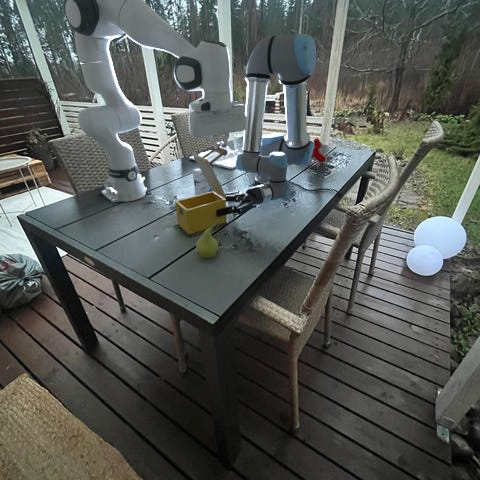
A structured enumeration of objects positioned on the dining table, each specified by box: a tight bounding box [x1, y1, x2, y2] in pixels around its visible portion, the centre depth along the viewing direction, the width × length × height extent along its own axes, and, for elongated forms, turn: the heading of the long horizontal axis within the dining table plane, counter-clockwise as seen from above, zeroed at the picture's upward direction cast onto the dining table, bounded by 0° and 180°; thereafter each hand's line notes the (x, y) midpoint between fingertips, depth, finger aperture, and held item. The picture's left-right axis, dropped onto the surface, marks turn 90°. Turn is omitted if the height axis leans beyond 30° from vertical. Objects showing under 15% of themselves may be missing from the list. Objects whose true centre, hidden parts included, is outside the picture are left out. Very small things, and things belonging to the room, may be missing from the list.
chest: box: [174, 191, 227, 238], centre depth 101 cm, size 16×9×11 cm, turn 126°
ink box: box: [192, 167, 214, 195], centre depth 128 cm, size 8×5×12 cm, turn 135°
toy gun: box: [311, 136, 327, 165], centre depth 168 cm, size 18×4×15 cm
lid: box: [191, 145, 228, 198], centre depth 97 cm, size 17×9×9 cm
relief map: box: [189, 145, 243, 170], centre depth 177 cm, size 27×35×5 cm
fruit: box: [195, 221, 219, 259], centre depth 84 cm, size 7×8×12 cm
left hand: (220, 147), depth 93 cm, fingers closed, pressing on lid
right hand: (210, 208), depth 103 cm, fingers closed on chest, 9 cm apart
